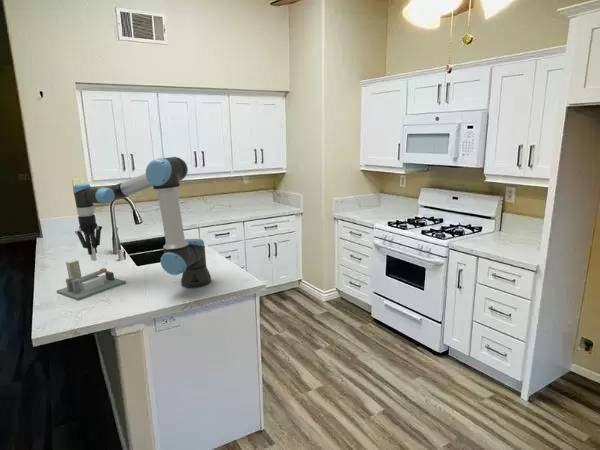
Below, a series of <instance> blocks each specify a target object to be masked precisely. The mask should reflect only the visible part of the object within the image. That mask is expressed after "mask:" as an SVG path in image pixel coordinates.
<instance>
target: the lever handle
mask: <svg viewBox="0 0 600 450" xmlns="http://www.w3.org/2000/svg"><path fill="white" fill-rule="evenodd" d="M107 269H108V268H106V267H105V268H104V267H102V268H99V270H97V271H94V272H92V273H89V274H85V275H84V276H82V277H81V278H78V279H75V280H78V281H79V282H81V281H84V280H87V279H89V278H92V277H94V276H101V275H102V274H105V272H107V271H108V270H107Z"/></svg>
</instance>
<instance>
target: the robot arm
mask: <svg viewBox="0 0 600 450" xmlns="http://www.w3.org/2000/svg"><path fill="white" fill-rule="evenodd" d="M145 168H146V169H145V173H143V174H140V175H138V176H135V177H132V178H130V179H127V180H124V181H122V182H119V183H117V184H114V185H107V186H103V187H102V186H101V187H91V184H90V183H78V184H74V185H73V189H72V190H73V196H74V200H75V207H76V213H77V220H78V224H79V226H78V229H77V230H75V231H74V233H75V235H76V236H77V237H78V239H79V242H80V244H81V246H82V248H83V249H87V254H88V255H89V257H90V261H93V262H96V261H97V260H98V259H97V254H98V249H97V248H98V246H100V245H101V233H102V229H103V226H101V225H98V223H97V219H96V215H95V206H94V204H102V205H105V204H111V203H112V202H114V201H117V200H123V199H126V198H128V197H130V196H133V195H135V194H137V193H141V192H143V191H145V190H146V191H147V190H148V189H151V188H153V191H155V192H156V193H157V196H158V197H157V198H158V202H159V208H160V209H159V210H160V216H161V221H162V227H163V233H164V239H165V244H164V245H163V247H162V248H163V254H162V255H161V257H160V265H161V268H162V269H163V271H165V272H166V273H167V274H169V275H172V276H178V275H180V274H182V275H181V279H180V285H181V286H182V287H184V288H191V289H192V288H193V289H194V288H200V287H204V286H206V285H209V284H210V283H211V282H212V277H211V274H210V272H209V270H208V267H207V259H206V249H205V248H206V246H205V241H204V240H203V239H201V238H185V234H184V233H185V232H184V227H183V220H182V219H183V218H182V214H181V213H182V212H181V206H180V205H181V204H180V201H179V193H178V190H179V189H180V187H181V184H180V182H181V181H183V180H184V179H185V178H186V177H187V175H188V171H189V169H188V165H187V163H186V161H185V160H184V159H182V158H180V157H176V156H171V157H160V158H159V157H158V158H155V159H153V160H151V161H150V162H149V163H148V164H147V165H146V167H145Z"/></svg>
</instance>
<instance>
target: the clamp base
mask: <svg viewBox="0 0 600 450" xmlns="http://www.w3.org/2000/svg"><path fill="white" fill-rule="evenodd" d="M114 275H115V274H114V272H112V271H108V270H107V272H105V273H104V274H103V275H102V274H101V275H97V276H94V277H92V278H89V279H87V280H84V281H81V282H79V281H78V280H73V279H72V278H69V277H68V278H65V281H66V282H65V283H66V287H63V288H60V289H58V290H56V293H57V294H59V295H62V296H65V297H68V298H70V299H73V300H76V301H81V300H84V299H87V298H89V297H90V298H91V297H92V296H94V295H98V294H100V293H103V292H106V291H108V290H111V289H114V288H117V287H120V286H122V285H125V284H126V283H127V281H126V280H123V279H120V278H116V277H115V276H114Z"/></svg>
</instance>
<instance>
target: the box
mask: <svg viewBox="0 0 600 450" xmlns="http://www.w3.org/2000/svg"><path fill="white" fill-rule="evenodd" d="M65 264H66V265H65V266H66V269H67V274H68V278H72V279H73V280H75V279H78V278H81V277H83V276H82V271H81V267H80V261H79V259H71V260H67V261H65Z"/></svg>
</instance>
